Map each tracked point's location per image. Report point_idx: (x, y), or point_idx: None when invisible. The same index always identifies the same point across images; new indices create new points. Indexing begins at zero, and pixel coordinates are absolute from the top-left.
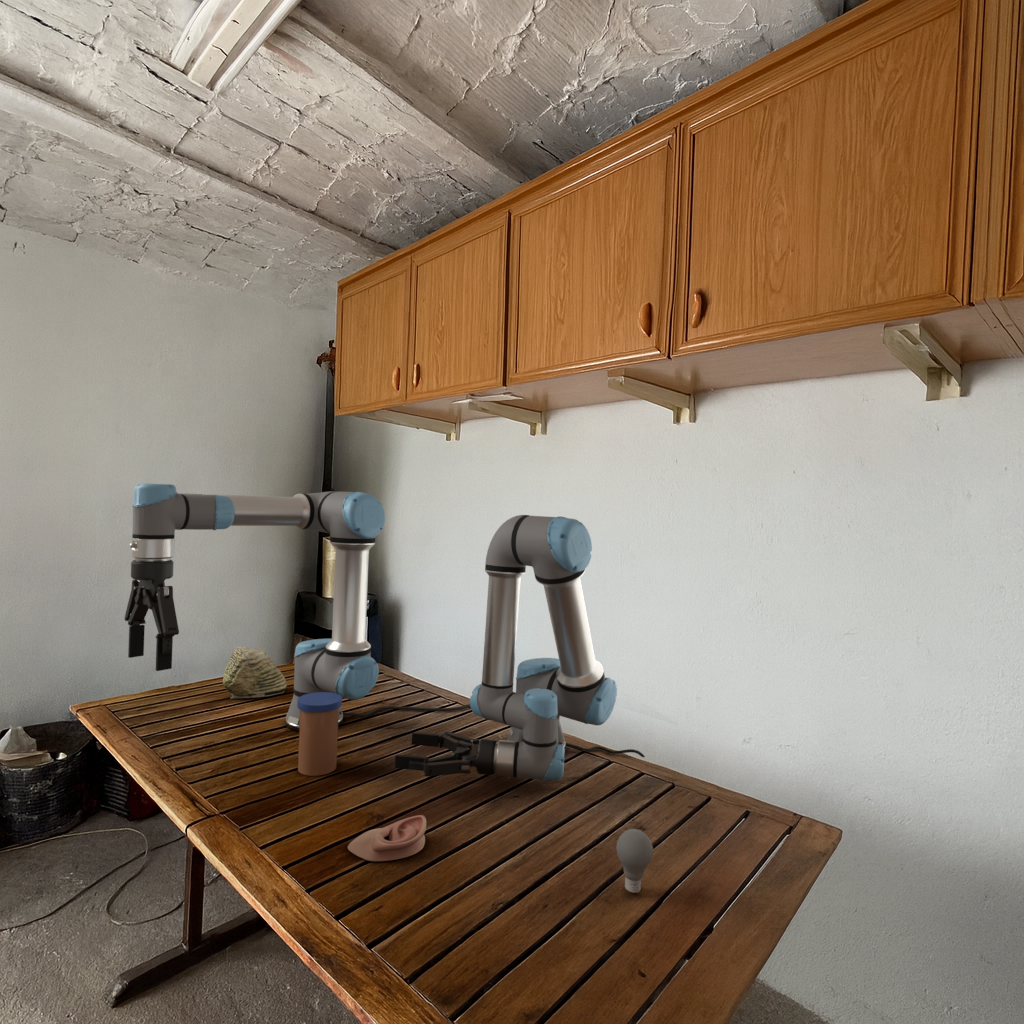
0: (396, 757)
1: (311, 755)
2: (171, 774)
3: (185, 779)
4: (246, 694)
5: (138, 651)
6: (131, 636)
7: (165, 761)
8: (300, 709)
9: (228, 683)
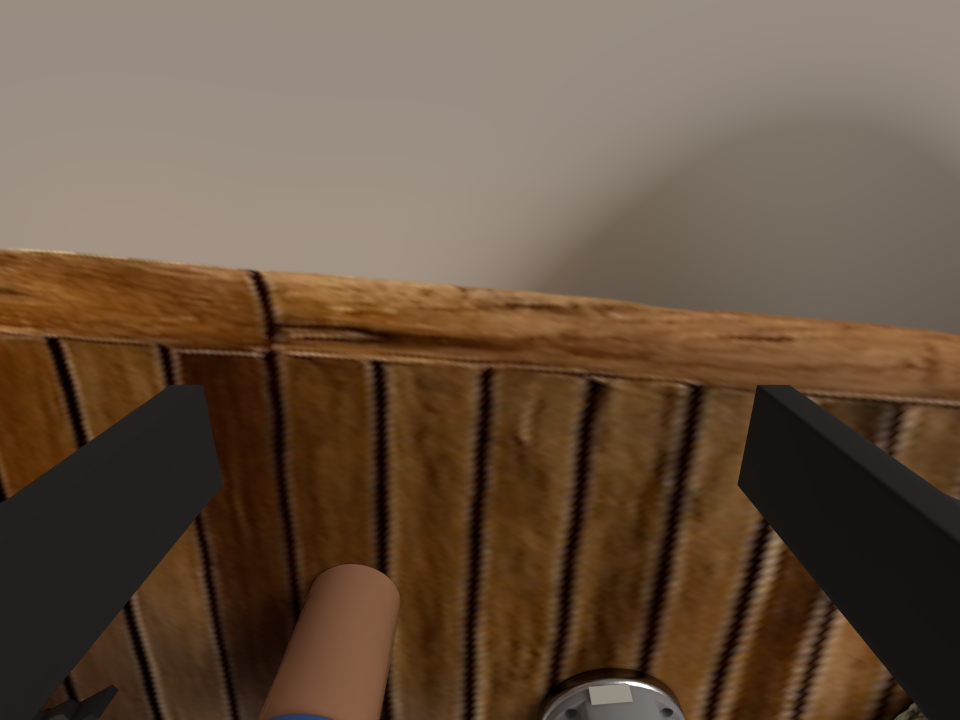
0: (91, 711)
1: (309, 610)
2: (575, 361)
3: (517, 373)
4: (921, 711)
5: (768, 472)
6: (898, 511)
7: (671, 383)
8: (302, 715)
9: None
